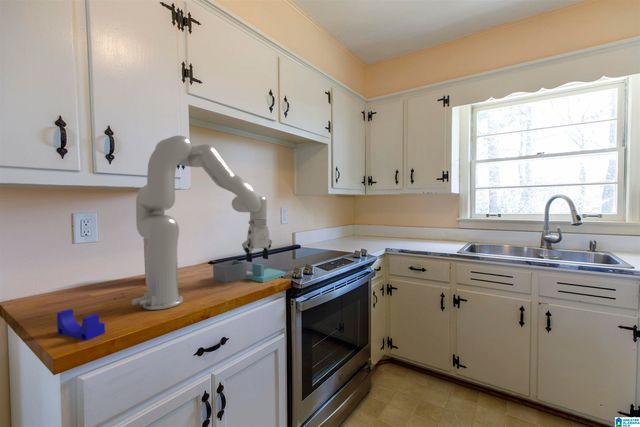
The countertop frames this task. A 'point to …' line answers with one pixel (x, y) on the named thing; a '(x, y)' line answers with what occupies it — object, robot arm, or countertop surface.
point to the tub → (229, 271)
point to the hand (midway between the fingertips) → (257, 260)
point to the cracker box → (145, 258)
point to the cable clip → (73, 329)
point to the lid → (263, 273)
